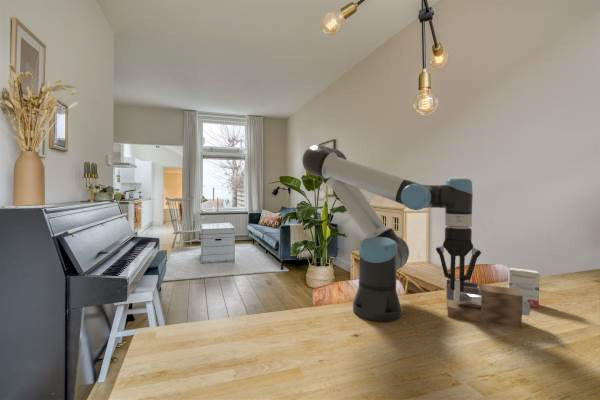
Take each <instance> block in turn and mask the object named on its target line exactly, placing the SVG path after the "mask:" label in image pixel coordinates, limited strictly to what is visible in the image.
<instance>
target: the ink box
mask: <svg viewBox="0 0 600 400" xmlns="http://www.w3.org/2000/svg"><path fill="white" fill-rule="evenodd" d="M507 273H508V275H507V276H508V278H507V279H508V280H507V288H514V289H517V290H518V291H519V293H520V294H521V295H522V296H523V300H522V301H527V302H529V305H530V307H531V308H532V307H533V308H539V305H540V304H539V303H540V280H541V278H540V276H541V274H540V272H539V271H538V270H532V269H524V268H517V267H516V268H515V267H508V272H507Z"/></svg>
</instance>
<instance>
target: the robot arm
mask: <svg viewBox="0 0 600 400" xmlns="http://www.w3.org/2000/svg"><path fill="white" fill-rule="evenodd" d="M301 160H302V166H303V169H304V170H305V171H306V172H307V173H308V174H309V175H312V176H315V177H320V179H321V180H322V181H323V184H324V185H325V186H326V187H330V188H331V189H332V190H333V191H334V193H335V194H336V196H337V197H338V199H339V201H340V203H341V204H342V205H343V206H344V208H345V210H346V212H348V215H349V216H350V217H351V219H352V220H353V222H354V223H355V225H356V227H357V228H358V229H359V231H360V232H361V234H362V235H363V238H364V239H362V240H361V242H360V244H359V248H358V249H359V250H358V255H359V257H358V258H359V259H358V260H359V261H358V263H359V264H358V287H357V290H356V293H355V296H354V299H353V302H352V311H353V313H354V314H355V315H356V316H358V317H361V318H362V319H366V320H369V321H374V322H394V321H397V320H398V319H400V318H401V317H402V306H401V303H400V300H399V299H400V298H399V296H398V295H399V294H398V292H397V271H399V270H400V269H401V268H403V267H404V266H405V265H406V263H407V261H408V259H409V256H410V248H409V245H408V243H407V242H406V241H405V240H404V239H403V238H402V237H400V236H398V235H397V234H396V233H395V231H394V229H393V228H392V227H391V226H386V225H385V224H384V222H383V221H382V220H381V218H380V217H379V214H378V213H376V210H375V209H374V208H373V206H372V205H371V203H370V202H369V201H368V199H367V198H366V196H365V195H364V193H363V192H362V190H364V191H366V192H369V193H371V194H374V195H377V196H380V197H382V198H384V199H388V200H391V201H393V202H396V203H398V204H400V205H403V206H404V207H406V208H408V209H410V210H412V211H420V210H423V209H427V208H428V209H429V208H431V209H432V208H434V209H435V208H437V209H445V211H444V213H445V215H444V225H445V228H444V241H443V243H442V245H440V246H436V247H435V251H436V252H437V254H438V256H439V259H440V262H441V267H442V271H443V276H444V278H447V279H448V280H450V288H451V290H454V301H457V302H459V300H460V291H463V290H464V282H466V281H470V280H471V279H472V276H473V272H474V270H475V267H476V264H477V263H476V262H477V260H478V258H479V257H480V255H481V254H482V251H481V250H480V249H477V248H476V247H474V244H473V242H472V234H473V233H472V228H471V227H472V226H473V225H472V223H473V222H472V221H473V219H472V217H473V194H474V193H473V181H472V180H471V179H469V178H448V179H446V180H445V184H441V185H438V184H437V185H436V184H435V185H431V184H430V185H429V184H427V185H426V184H421V183H418V182H416V181H415V182H414V181H411V180H408V179H405V178H402V177H399V176H396V175H393V174H391V173H388V172H385V171H381V170H378V169H376V168H373V167H369V166H367V165H362V164H360V163H356V162H355V161H351V160H348V159H347V157H346V155H345V154H344V153H343V151H340V150H339V149H336V148H334V147H329V146H324V145H320V144H314V145H312V146H310V147H308V148H307V149H306V150H305V152H304V153H303V156H302V159H301ZM445 250H446V252H447V253H448V254H449V255H450V268H449V270H450V273H449V270H448V268H447V263H446V259H445V254H444V252H445ZM469 253H471V257H470V259H469V263H468V265H467V269H466V274H465V259H466V258H465V257H466V256H467V255H468V254H469ZM456 257H458V258H459V264H458V265H459V269H458V272H459V274H458V277H459V278H456V259H457V258H456Z"/></svg>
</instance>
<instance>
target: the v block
mask: <svg viewBox="0 0 600 400" xmlns="http://www.w3.org/2000/svg"><path fill="white" fill-rule="evenodd" d="M478 289H479V284H478V282H471V281H469V282H468V281H464V290H463V291H460V292H462V293H469V294H477V295H478ZM445 292H446V294H445V296H446V300H447V299H448V300H454V290H451V288H450V279H446V290H445Z"/></svg>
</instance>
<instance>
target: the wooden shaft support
mask: <svg viewBox="0 0 600 400" xmlns="http://www.w3.org/2000/svg"><path fill="white" fill-rule="evenodd" d="M478 288H479V289H478V295H481V308H475V307H468V306H462V305H459V302H457V301H454V300H448V299H447V298H446V312H447V313H446V314H447V317H449V318H450V317H452V318H456V319H457V318H458V319H462V320H469V321H473V320H474V322H480V323H485V322H486V323H485V324H491V323H493V324H492V325H497V324H498V326H503V327H504V326H505V327H510V328H517V329H522V322H523V321H522V319H523V315H522V300H523V296H522V295H521V294H520V293H519V291H518V290H517V289H514V288H508V287H503V286H496V285H489V284H481V283H479V284H478Z"/></svg>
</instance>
